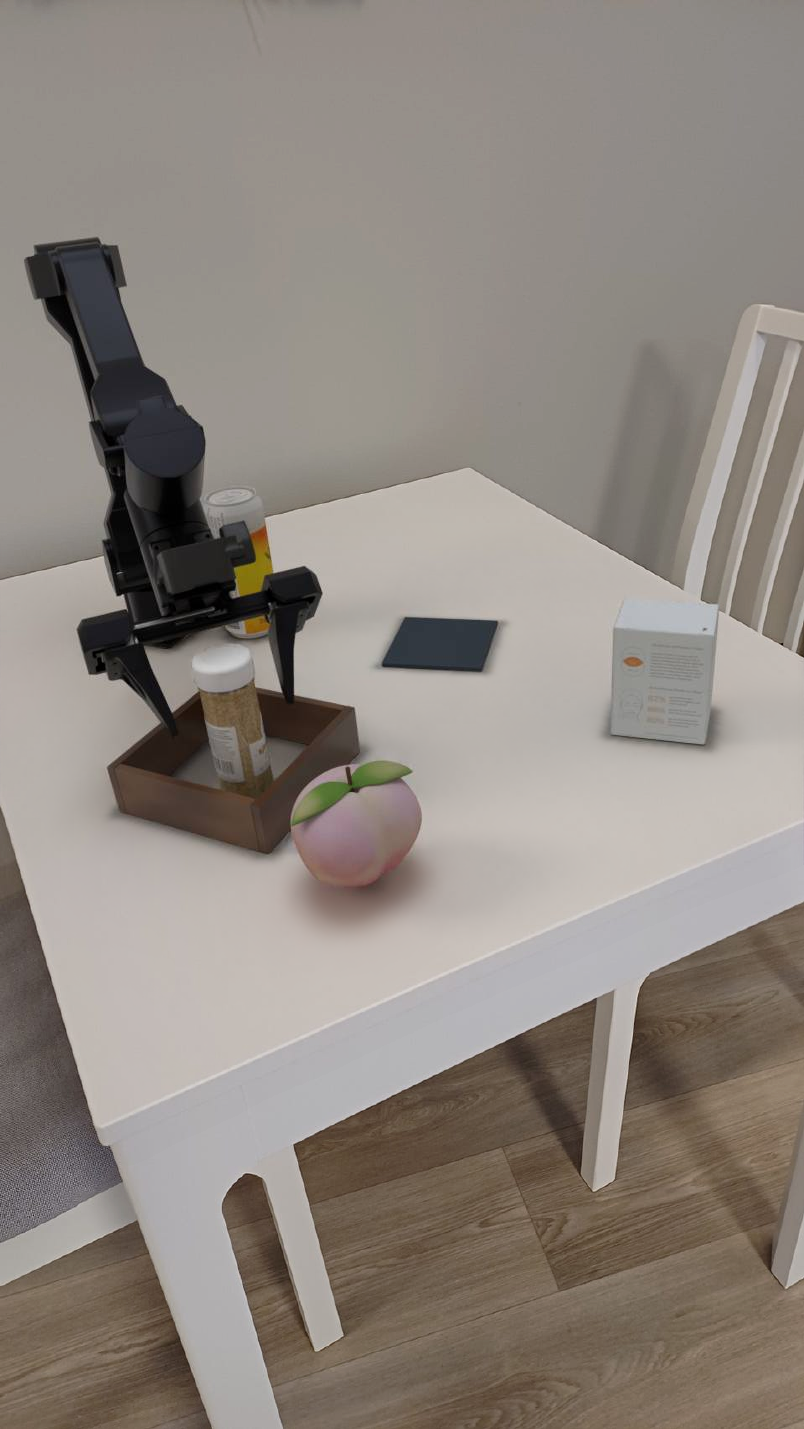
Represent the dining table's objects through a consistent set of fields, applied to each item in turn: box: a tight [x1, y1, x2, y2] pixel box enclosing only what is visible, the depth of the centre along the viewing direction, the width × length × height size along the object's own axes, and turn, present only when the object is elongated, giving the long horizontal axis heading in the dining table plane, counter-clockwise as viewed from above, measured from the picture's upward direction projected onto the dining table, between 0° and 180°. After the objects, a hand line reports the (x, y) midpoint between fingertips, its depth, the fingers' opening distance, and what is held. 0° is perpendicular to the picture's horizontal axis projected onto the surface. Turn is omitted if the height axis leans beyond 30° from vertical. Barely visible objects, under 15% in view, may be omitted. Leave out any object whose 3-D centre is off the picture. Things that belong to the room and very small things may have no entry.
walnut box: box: [106, 686, 361, 855], centre depth 82 cm, size 15×15×4 cm
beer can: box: [202, 485, 274, 640], centre depth 103 cm, size 6×6×15 cm
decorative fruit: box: [290, 760, 423, 888], centre depth 69 cm, size 9×8×10 cm
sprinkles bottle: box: [191, 643, 274, 799], centre depth 77 cm, size 5×5×13 cm
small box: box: [609, 597, 720, 745], centre depth 83 cm, size 8×6×10 cm
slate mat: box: [381, 616, 499, 673], centre depth 101 cm, size 10×10×1 cm
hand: (234, 720), depth 76 cm, fingers open, 9 cm apart
